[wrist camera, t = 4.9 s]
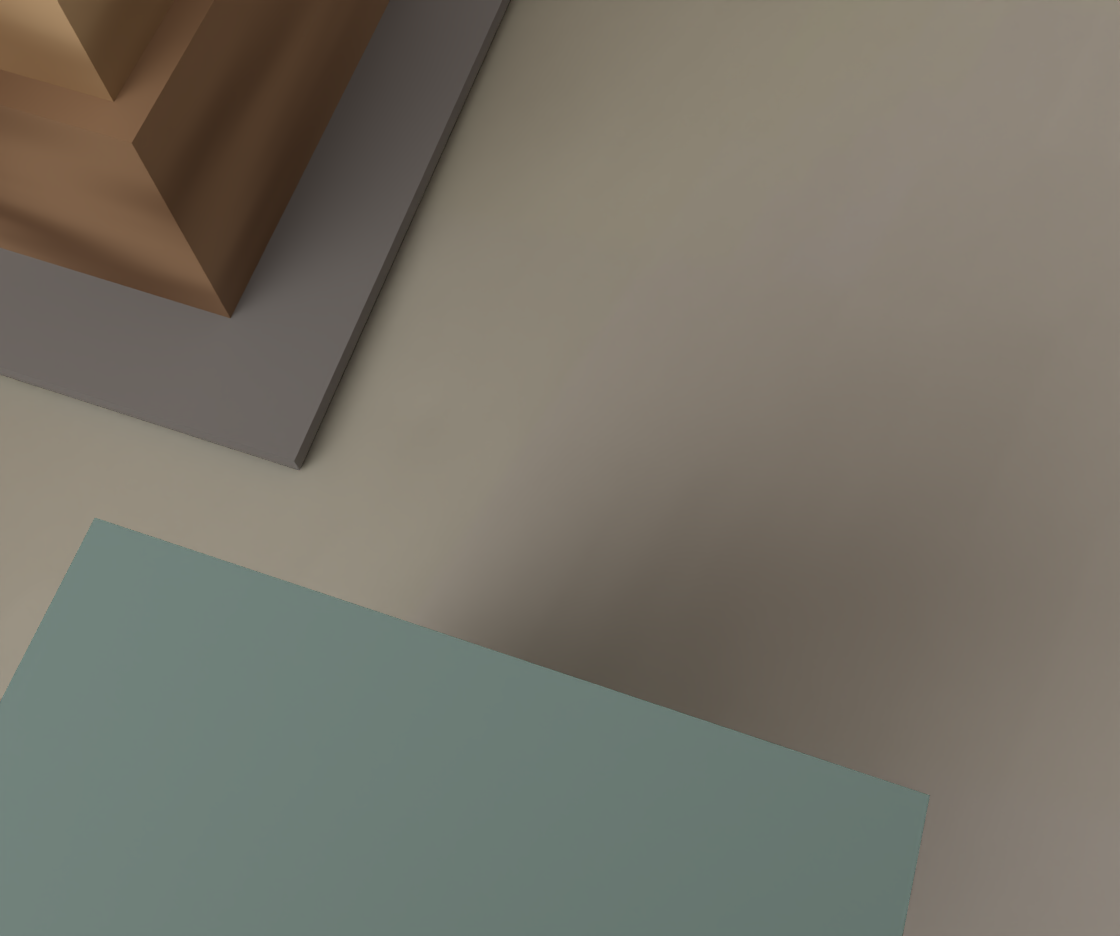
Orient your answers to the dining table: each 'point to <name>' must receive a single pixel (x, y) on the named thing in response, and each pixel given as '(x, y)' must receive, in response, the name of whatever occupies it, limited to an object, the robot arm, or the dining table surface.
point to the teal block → (393, 782)
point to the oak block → (78, 41)
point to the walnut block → (180, 147)
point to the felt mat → (268, 264)
